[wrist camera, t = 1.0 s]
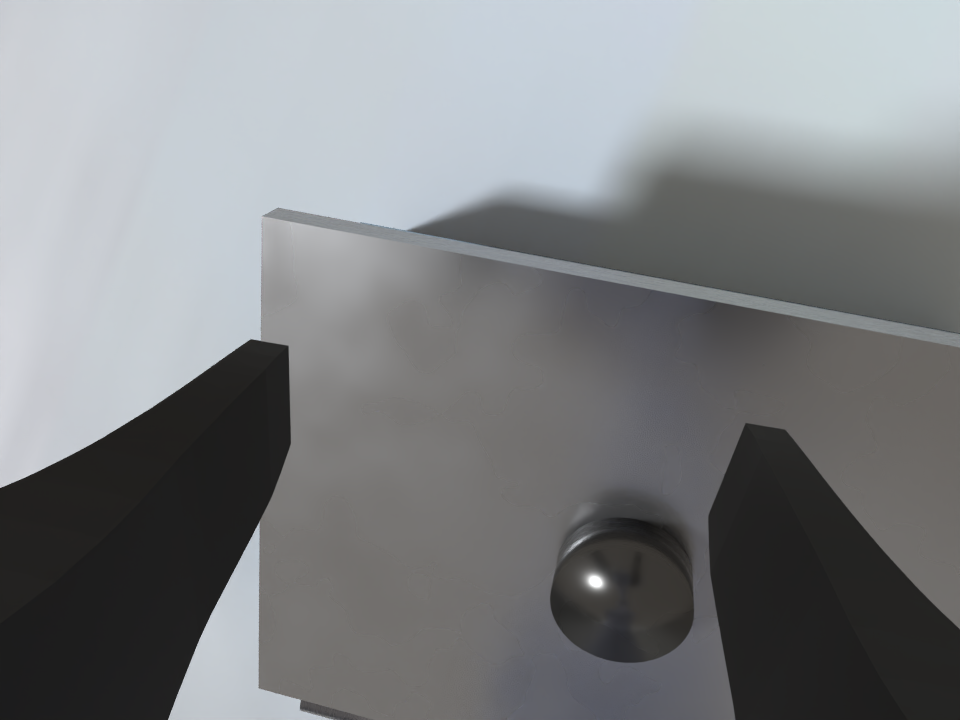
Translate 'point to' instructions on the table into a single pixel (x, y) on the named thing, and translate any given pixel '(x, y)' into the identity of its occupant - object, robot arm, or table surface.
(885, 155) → the table surface
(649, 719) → the cabinet door
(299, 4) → the table surface
